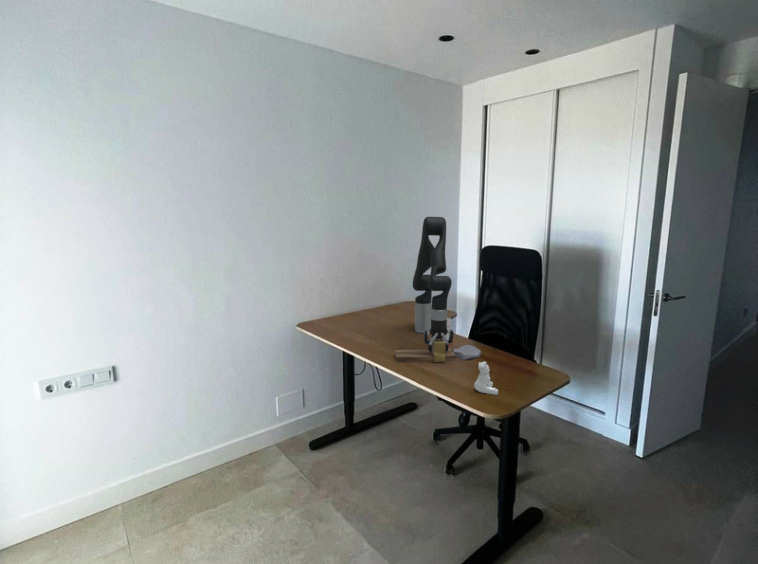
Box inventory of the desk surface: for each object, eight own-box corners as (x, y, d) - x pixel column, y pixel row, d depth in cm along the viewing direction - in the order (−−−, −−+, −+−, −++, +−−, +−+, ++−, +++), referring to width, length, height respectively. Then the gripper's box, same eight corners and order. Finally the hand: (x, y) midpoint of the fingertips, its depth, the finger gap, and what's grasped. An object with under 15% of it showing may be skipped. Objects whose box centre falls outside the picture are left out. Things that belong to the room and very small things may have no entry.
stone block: (482, 359, 207) (466, 350, 214) (484, 350, 205) (468, 341, 212) (466, 366, 200) (450, 356, 207) (468, 357, 198) (452, 347, 205)
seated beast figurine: (499, 395, 164) (501, 366, 162) (477, 396, 164) (478, 366, 161) (491, 385, 173) (493, 357, 171) (471, 385, 173) (472, 357, 171)
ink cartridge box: (445, 342, 226) (446, 315, 223) (450, 345, 222) (451, 317, 219) (431, 344, 222) (432, 317, 220) (437, 347, 218) (437, 319, 215)
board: (394, 354, 208) (394, 349, 207) (450, 353, 209) (451, 348, 209) (396, 362, 198) (396, 357, 197) (455, 360, 200) (455, 355, 199)
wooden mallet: (428, 350, 212) (429, 333, 210) (438, 350, 212) (439, 333, 210) (434, 362, 197) (434, 343, 195) (445, 361, 197) (445, 343, 196)
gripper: (452, 315, 202) (451, 348, 205) (422, 316, 201) (421, 349, 204) (456, 319, 195) (454, 354, 198) (425, 320, 194) (424, 354, 197)
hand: (438, 351), depth 201 cm, fingers open, 6 cm apart
